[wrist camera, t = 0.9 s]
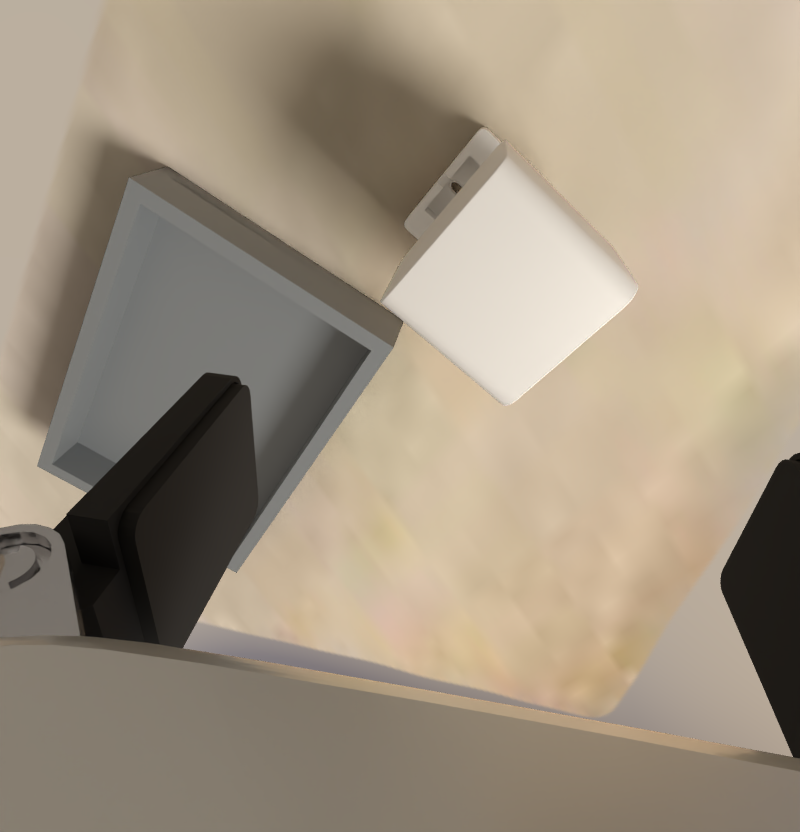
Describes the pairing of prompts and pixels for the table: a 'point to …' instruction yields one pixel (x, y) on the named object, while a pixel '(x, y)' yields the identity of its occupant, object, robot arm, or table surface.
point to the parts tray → (212, 340)
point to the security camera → (504, 271)
